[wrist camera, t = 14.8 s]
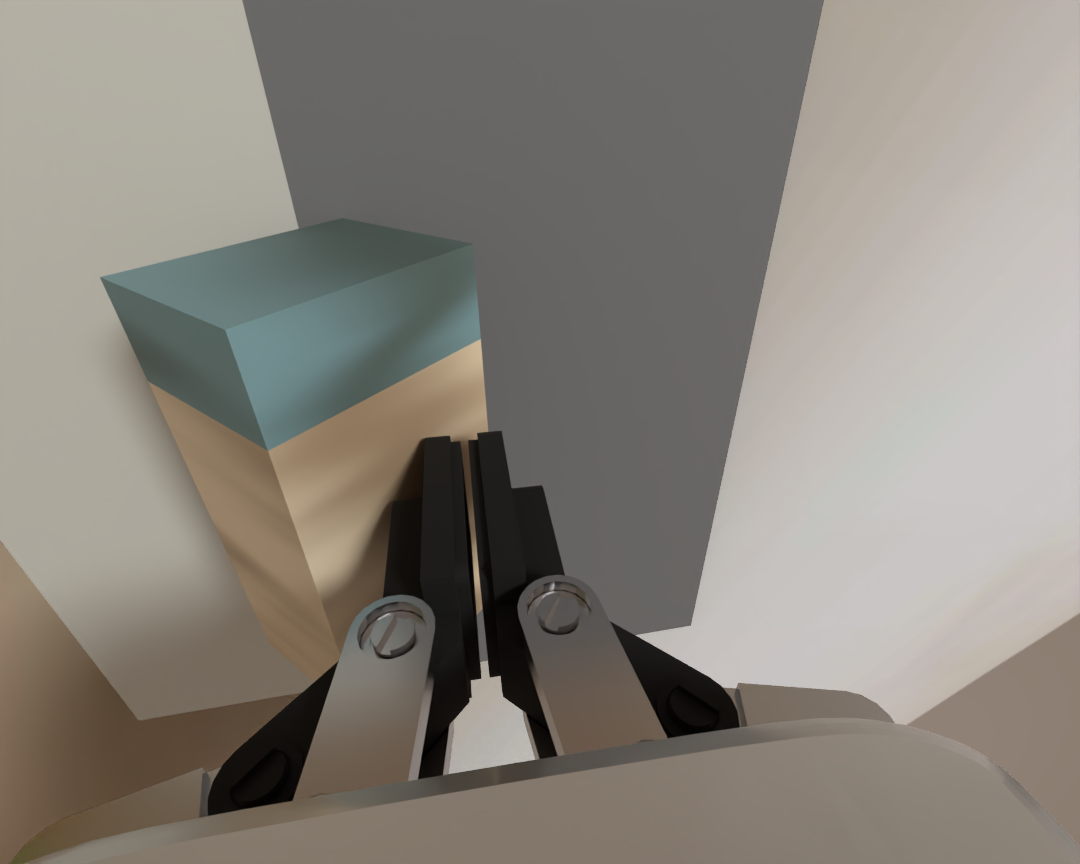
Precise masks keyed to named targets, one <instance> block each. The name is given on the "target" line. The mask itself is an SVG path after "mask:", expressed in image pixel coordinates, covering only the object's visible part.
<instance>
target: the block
mask: <svg viewBox="0 0 1080 864" xmlns="http://www.w3.org/2000/svg"><path fill="white" fill-rule="evenodd" d="M100 279H101V281H102V283H103V285H104V287H105V290H106V292H107V294H108V296H109V298H110V300H111V303H112V305H113V307H114V309H115V311H116V313H117V316H118V318H119V320H120V322H121V324H122V326H123V329H124V331H125V333H126V335H127V337H128V339H129V341H130V344H131V346H132V348H133V350H134V352H135V354H136V357H137V359H138V361H139V363H140V365H141V367H142V370H143V372H144V374H145V376H146V378H147V380H148V383H149V385H150V387H151V389H152V391H153V393H154V396H155V398H156V400H157V402H158V404H159V406H160V409H161V411H162V413H163V415H164V417H165V419H166V422H167V424H168V426H169V428H170V430H171V432H172V435H173V437H174V439H175V441H176V443H177V445H178V448H179V450H180V452H181V454H182V456H183V458H184V461H185V463H186V465H187V467H188V469H189V471H190V474H191V476H192V478H193V480H194V482H195V484H196V487H197V489H198V491H199V493H200V495H201V497H202V499H203V502H204V504H205V506H206V508H207V510H208V512H209V515H210V517H211V519H212V521H213V523H214V525H215V528H216V530H217V532H218V534H219V536H220V538H221V541H222V543H223V545H224V547H225V549H226V551H227V554H228V556H229V558H230V560H231V562H232V564H233V567H234V569H235V571H236V573H237V575H238V577H239V580H240V582H241V584H242V586H243V588H244V590H245V593H246V595H247V597H248V599H249V601H250V603H251V606H252V608H253V610H254V612H255V614H256V616H257V619H258V621H259V623H260V625H261V627H262V629H263V632H264V634H265V636H266V638H267V640H268V642H269V644H271V645H272V646H273V647H274V648H275V649H276V650H277V651H279V652H280V653H281V654H282V655H283V656H284V657H285V658H286V659H288V660H289V661H290V662H291V663H292V664H293V665H294V666H296V667H297V668H298V669H299V670H300V671H301V672H302V673H304V674H305V675H306V676H307V677H308V678H309V679H310V680H311V681H313V682H315V681H316V680H317V679H318V678H319V677H321V676H322V675H323V674H324V673H325V672H326V671H327V670H329V669H330V668H331V667H332V666H333V665H334V664H335V663H337V662H338V661H339V658H340V655H341V652H342V649H343V646H344V643H345V640H346V637H347V634H348V631H349V629H350V627H351V625H352V623H353V621H354V619H355V618H356V617H357V615H358V614H359V613H360V612H361V611H362V610H363V609H364V608H366V607H367V606H369V605H370V604H372V603H373V602H375V601H377V600H379V599H382V598H383V591H384V581H385V571H386V561H387V551H388V541H389V531H390V521H391V511H392V504H393V502H394V501H398V500H408V499H417V498H423V473H424V442H425V438H428V437H438V436H449V435H450V438H451V442H455V441H460V442H461V450H462V459H463V468H464V477H465V486H466V495H467V504H468V513H469V522H470V532H471V542H472V556H473V570H474V584H475V598H476V612H477V614H478V613H479V612H480V611H481V610H482V609H483V608H482V598H481V589H480V579H479V568H478V556H477V544H476V532H475V520H474V508H473V495H472V483H471V471H470V459H469V446H468V440H476V439H478V437H477V433H481V432H488V422H487V410H486V397H485V385H484V372H483V360H482V348H481V335H480V323H479V310H478V298H477V286H476V273H475V261H474V248H473V244H472V243H467V242H462V241H457V240H451V239H446V238H441V237H436V236H431V235H426V234H421V233H416V232H411V231H406V230H400V229H395V228H390V227H385V226H380V225H375V224H370V223H365V222H360V221H354V220H349V219H344V218H341V219H337V220H333V221H328V222H324V223H320V224H316V225H312V226H308V227H304V228H300V229H296V230H291V231H287V232H283V233H279V234H275V235H271V236H267V237H263V238H259V239H254V240H250V241H246V242H242V243H238V244H234V245H230V246H226V247H222V248H218V249H213V250H209V251H205V252H201V253H197V254H193V255H189V256H185V257H181V258H176V259H172V260H168V261H164V262H160V263H156V264H152V265H148V266H144V267H139V268H135V269H131V270H127V271H123V272H119V273H115V274H111V275H107V276H102V277H100Z"/></svg>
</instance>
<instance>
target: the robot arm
mask: <svg viewBox="0 0 1080 864" xmlns="http://www.w3.org/2000/svg"><path fill="white" fill-rule="evenodd" d="M477 437H478V439H476V440H468V446H469V459H470V471H471V483H472V495H473V508H474V520H475V532H476V544H477V556H478V568H479V579H480V589H481V598H482V608H483V617H484V627H485V636H486V646H487V655H488V665H489V675H490V677H495V676H501V683H502V693H503V697H505V698H506V699H507V700H509V701H510V702H512V703H513V704H514V705H516V706H517V707H518V708H520V709H521V710H523V717H524V722H525V726H526V729H527V732H528V736H529V739H530V743H531V746H532V750H533V753H534V756H535V760H532V761H526V762H520V763H514V764H508V765H502V766H496V767H490V768H484V769H478V770H472V771H466V772H460V773H454V774H449V767H450V759H451V751H452V743H453V735H454V719H455V718H456V717H457V716H458V714H459V713H460V712H461V711H462V710H463V709H464V707H465V706H466V705H467V704H468V703H469V698H472V696H471V680H475V679H481V668H480V654H479V640H478V626H477V612H476V598H475V584H474V570H473V556H472V542H471V532H470V522H469V513H468V504H467V495H466V486H465V477H464V468H463V459H462V450H461V442H460V441H455V442H451V438H450V435H449V436H438V437H428V438H425V442H424V473H423V498H417V499H408V500H398V501H394V502H393V504H392V511H391V521H390V531H389V541H388V551H387V561H386V571H385V581H384V591H383V598H382V599H379V600H377V601H375V602H373V603H372V604H370V605H369V606H367V607H366V608H364V609H363V610H362V611H361V612H360V613H359V614H358V615H357V617H356V618H355V619H354V621H353V623H352V625H351V627H350V629H349V631H348V634H347V637H346V640H345V643H344V646H343V649H342V652H341V655H340V658H339V661H338V662H337V663H335V664H334V665H333V666H332V667H331V668H330V669H329V670H327V671H326V672H325V673H324V674H323V675H322V676H321V677H319V678H318V679H317V680H316V681H315V682H314V683H313V684H311V685H310V686H309V687H308V688H307V689H306V690H305V691H304V692H302V693H301V694H300V695H299V696H298V697H297V698H296V699H294V700H293V701H292V702H291V703H290V704H289V705H288V706H286V707H285V708H284V709H283V710H282V711H281V712H280V713H278V714H277V715H276V716H275V717H274V718H273V719H272V720H270V721H269V722H268V723H267V724H266V725H265V726H264V727H262V728H261V729H260V730H259V731H258V732H257V733H256V734H254V735H253V736H252V737H251V738H250V739H249V740H248V741H247V742H245V743H244V744H243V745H242V746H241V747H240V748H239V749H237V750H236V751H235V752H234V753H233V754H232V756H231V757H230V758H229V759H228V760H227V761H226V762H225V763H224V764H223V765H222V767H220V768H217V769H214V770H212V771H209V772H206V770H205V769H204V767H201V768H199V769H196V770H193V771H191V772H188V773H185V774H183V775H180V776H177V777H175V778H172V779H169V780H166V781H164V782H161V783H158V784H156V785H153V786H150V787H148V788H145V789H142V790H139V791H137V792H134V793H131V794H129V795H126V796H123V797H121V798H118V799H115V800H113V801H110V802H107V803H104V804H102V805H99V806H96V807H94V808H91V809H88V810H86V811H83V812H80V813H78V814H75V815H72V816H69V817H67V818H64V819H62V820H61V821H59V822H57V823H55V824H53V825H51V826H49V827H47V828H45V829H44V830H42V831H41V832H40V833H39V834H38V835H36V836H35V837H34V838H33V839H32V840H30V841H29V842H28V843H27V844H26V845H24V846H23V848H22V849H21V850H20V851H19V853H18V854H17V855H16V856H15V857H14V859H13V860H12V861H11V862H10V864H1080V847H1079V845H1078V844H1077V843H1076V842H1075V841H1074V840H1073V839H1072V837H1071V836H1070V835H1069V834H1068V833H1067V832H1066V831H1065V830H1064V829H1063V827H1061V826H1060V824H1059V823H1058V822H1057V821H1056V820H1055V819H1054V818H1053V817H1052V816H1051V815H1050V814H1049V813H1048V811H1047V810H1045V808H1044V807H1043V806H1042V805H1041V804H1040V803H1039V802H1038V801H1037V800H1036V799H1035V798H1034V797H1033V796H1032V795H1031V794H1030V793H1029V792H1028V791H1027V790H1026V789H1025V788H1024V787H1023V786H1022V785H1021V784H1020V783H1019V782H1017V781H1016V780H1015V779H1014V778H1013V777H1012V776H1011V775H1009V774H1008V773H1007V772H1006V771H1005V770H1004V769H1003V768H1001V767H1000V766H999V765H997V764H996V763H994V762H993V761H992V760H990V759H989V758H987V757H986V756H985V755H983V754H981V753H979V752H977V751H976V750H974V749H972V748H970V747H968V746H966V745H964V744H962V743H959V742H956V741H954V740H952V739H949V738H947V737H943V736H941V735H938V734H935V733H932V732H928V731H925V730H921V729H917V728H913V727H910V726H906V725H902V724H896V723H894V721H893V720H892V718H891V717H890V715H889V714H887V713H886V712H885V711H884V710H883V709H882V708H881V707H880V706H879V705H878V704H877V703H875V702H873V701H871V700H869V699H868V698H866V697H864V696H862V695H859V694H855V693H851V692H847V691H837V690H824V689H811V688H797V687H784V686H771V685H758V684H745V683H738V685H737V688H736V689H734V688H723V687H722V686H720V685H719V684H718V683H716V682H715V681H714V680H712V679H711V678H710V677H708V676H706V675H704V674H702V673H701V672H699V671H697V670H695V669H694V668H692V667H690V666H688V665H687V664H685V663H683V662H681V661H680V660H678V659H676V658H674V657H672V656H671V655H669V654H667V653H665V652H664V651H662V650H660V649H658V648H657V647H655V646H653V645H651V644H650V643H648V642H646V641H644V640H642V639H641V638H639V637H637V636H635V635H634V634H632V633H630V632H628V631H627V630H625V629H623V628H621V627H620V626H618V625H616V624H614V623H612V622H611V621H609V619H608V617H607V615H606V613H605V611H604V609H603V607H602V605H601V603H600V601H599V599H598V597H597V595H596V594H595V592H594V591H593V590H592V588H591V587H590V586H588V585H587V584H585V583H584V582H583V581H581V580H579V579H576V578H574V577H571V576H565V573H564V569H563V565H562V561H561V557H560V553H559V549H558V545H557V541H556V537H555V533H554V529H553V525H552V521H551V517H550V513H549V509H548V505H547V501H546V497H545V492H544V489H543V487H542V485H539V486H530V487H520V488H512V487H511V481H510V475H509V470H508V464H507V458H506V452H505V447H504V441H503V435H502V431H491V432H481V433H477Z"/></svg>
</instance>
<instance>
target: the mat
mask: <svg viewBox="0 0 1080 864" xmlns="http://www.w3.org/2000/svg"><path fill="white" fill-rule="evenodd" d="M823 2H824V0H0V540H1V542H2V543H3V544H4V546H5V547H6V548H7V550H8V551H9V552H10V553H11V555H12V556H13V557H14V559H15V560H16V561H17V563H18V564H19V565H20V567H21V568H22V569H23V570H24V572H25V573H26V574H27V576H28V577H29V578H30V580H31V581H32V582H33V583H34V585H35V586H36V587H37V589H38V590H39V591H40V593H41V594H42V595H43V597H44V598H45V599H46V600H47V602H48V603H49V604H50V606H51V607H52V608H53V610H54V611H55V612H56V613H57V615H58V616H59V617H60V619H61V620H62V621H63V623H64V624H65V625H66V627H67V628H68V629H69V630H70V632H71V633H72V634H73V636H74V637H75V638H76V640H77V641H78V642H79V643H80V645H81V646H82V647H83V649H84V650H85V651H86V653H87V654H88V655H89V657H90V658H91V659H92V660H93V662H94V663H95V664H96V666H97V667H98V668H99V670H100V671H101V672H102V673H103V675H104V676H105V677H106V679H107V680H108V681H109V683H110V684H111V685H112V686H113V688H114V689H115V690H116V692H117V693H118V694H119V696H120V697H121V698H122V700H123V701H124V702H125V703H126V705H127V706H128V707H129V709H130V710H131V711H132V713H133V714H134V715H135V716H136V718H137V719H138V720H139V721H141V720H146V719H152V718H158V717H164V716H170V715H175V714H181V713H187V712H193V711H198V710H204V709H210V708H216V707H222V706H227V705H233V704H239V703H245V702H250V701H256V700H262V699H268V698H274V697H279V696H285V695H291V694H297V693H302V692H304V691H305V690H306V689H307V688H308V687H309V686H310V685H311V684H313V683H314V682H313V681H311V680H310V679H309V678H308V677H307V676H306V675H305V674H304V673H302V672H301V671H300V670H299V669H298V668H297V667H296V666H294V665H293V664H292V663H291V662H290V661H289V660H288V659H286V658H285V657H284V656H283V655H282V654H281V653H280V652H279V651H277V650H276V649H275V648H274V647H273V646H272V645H271V644H269V642H268V640H267V638H266V636H265V634H264V632H263V629H262V627H261V625H260V623H259V621H258V619H257V616H256V614H255V612H254V610H253V608H252V606H251V603H250V601H249V599H248V597H247V595H246V593H245V590H244V588H243V586H242V584H241V582H240V580H239V577H238V575H237V573H236V571H235V569H234V567H233V564H232V562H231V560H230V558H229V556H228V554H227V551H226V549H225V547H224V545H223V543H222V541H221V538H220V536H219V534H218V532H217V530H216V528H215V525H214V523H213V521H212V519H211V517H210V515H209V512H208V510H207V508H206V506H205V504H204V502H203V499H202V497H201V495H200V493H199V491H198V489H197V487H196V484H195V482H194V480H193V478H192V476H191V474H190V471H189V469H188V467H187V465H186V463H185V461H184V458H183V456H182V454H181V452H180V450H179V448H178V445H177V443H176V441H175V439H174V437H173V435H172V432H171V430H170V428H169V426H168V424H167V422H166V419H165V417H164V415H163V413H162V411H161V409H160V406H159V404H158V402H157V400H156V398H155V396H154V393H153V391H152V389H151V387H150V385H149V383H148V380H147V378H146V376H145V374H144V372H143V370H142V367H141V365H140V363H139V361H138V359H137V357H136V354H135V352H134V350H133V348H132V346H131V344H130V341H129V339H128V337H127V335H126V333H125V331H124V329H123V326H122V324H121V322H120V320H119V318H118V316H117V313H116V311H115V309H114V307H113V305H112V303H111V300H110V298H109V296H108V294H107V292H106V290H105V287H104V285H103V283H102V281H101V279H100V277H102V276H107V275H111V274H115V273H119V272H123V271H127V270H131V269H135V268H139V267H144V266H148V265H152V264H156V263H160V262H164V261H168V260H172V259H176V258H181V257H185V256H189V255H193V254H197V253H201V252H205V251H209V250H213V249H218V248H222V247H226V246H230V245H234V244H238V243H242V242H246V241H250V240H254V239H259V238H263V237H267V236H271V235H275V234H279V233H283V232H287V231H291V230H296V229H300V228H304V227H308V226H312V225H316V224H320V223H324V222H328V221H333V220H337V219H341V218H344V219H349V220H354V221H360V222H365V223H370V224H375V225H380V226H385V227H390V228H395V229H400V230H406V231H411V232H416V233H421V234H426V235H431V236H436V237H441V238H446V239H451V240H457V241H462V242H467V243H472V244H473V248H474V261H475V273H476V286H477V298H478V310H479V323H480V335H481V348H482V360H483V372H484V385H485V397H486V410H487V422H488V432H491V431H502V435H503V441H504V447H505V452H506V458H507V464H508V470H509V475H510V481H511V487H512V488H520V487H530V486H539V485H542V487H543V489H544V492H545V497H546V501H547V505H548V509H549V513H550V517H551V521H552V525H553V529H554V533H555V537H556V541H557V545H558V549H559V553H560V557H561V561H562V565H563V569H564V573H565V576H571V577H574V578H576V579H579V580H581V581H583V582H584V583H585V584H587V585H588V586H590V587H591V588H592V590H593V591H594V592H595V594H596V595H597V597H598V599H599V601H600V603H601V605H602V607H603V609H604V611H605V613H606V615H607V617H608V619H609V621H611V622H612V623H614V624H616V625H618V626H620V627H621V628H623V629H625V630H627V631H628V632H630V633H632V634H634V635H638V634H644V633H649V632H655V631H661V630H667V629H673V628H678V627H684V626H690V625H691V622H692V617H693V612H694V608H695V603H696V598H697V594H698V589H699V584H700V579H701V575H702V570H703V565H704V561H705V556H706V551H707V547H708V542H709V537H710V533H711V528H712V523H713V518H714V514H715V509H716V504H717V500H718V495H719V490H720V486H721V481H722V476H723V471H724V467H725V462H726V457H727V453H728V448H729V443H730V439H731V434H732V429H733V424H734V420H735V415H736V410H737V406H738V401H739V396H740V392H741V387H742V382H743V377H744V373H745V368H746V363H747V359H748V354H749V349H750V345H751V340H752V335H753V331H754V326H755V321H756V316H757V312H758V307H759V302H760V298H761V293H762V288H763V284H764V279H765V274H766V269H767V265H768V260H769V255H770V251H771V246H772V241H773V237H774V232H775V227H776V222H777V218H778V213H779V208H780V204H781V199H782V194H783V190H784V185H785V180H786V176H787V171H788V166H789V161H790V157H791V152H792V147H793V143H794V138H795V133H796V129H797V124H798V119H799V114H800V110H801V105H802V100H803V96H804V91H805V86H806V82H807V77H808V72H809V67H810V63H811V58H812V53H813V49H814V44H815V39H816V35H817V30H818V25H819V20H820V16H821V11H822V6H823ZM477 626H478V640H479V654H480V662H482V661H487V660H488V655H487V646H486V636H485V627H484V617H483V609H482V610H481V611H480V612H479V613H478V614H477Z"/></svg>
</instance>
